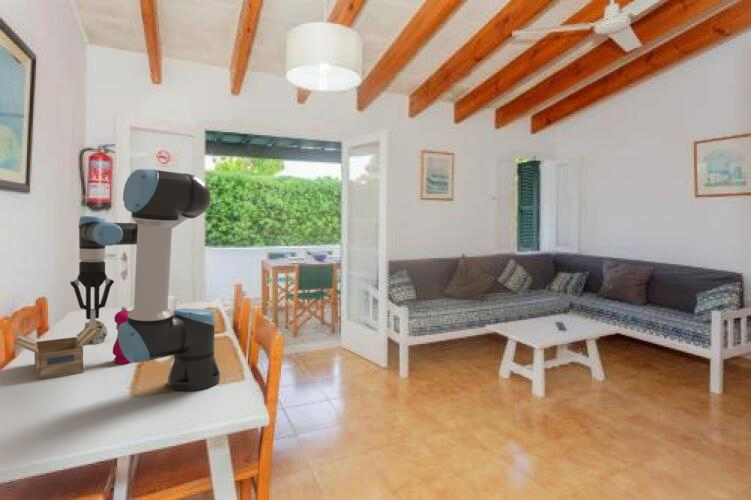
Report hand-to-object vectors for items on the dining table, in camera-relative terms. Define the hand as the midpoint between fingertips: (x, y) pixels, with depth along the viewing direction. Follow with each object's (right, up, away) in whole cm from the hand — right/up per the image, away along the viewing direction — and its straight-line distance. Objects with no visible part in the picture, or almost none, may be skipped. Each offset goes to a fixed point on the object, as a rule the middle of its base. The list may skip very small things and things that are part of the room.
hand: (92, 327), depth 150 cm
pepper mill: (+9, -13, +3) cm, 16 cm away
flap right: (-1, -2, -1) cm, 3 cm away
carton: (-8, -13, -5) cm, 16 cm away
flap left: (-14, -3, -11) cm, 18 cm away
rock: (-18, -11, +29) cm, 36 cm away
